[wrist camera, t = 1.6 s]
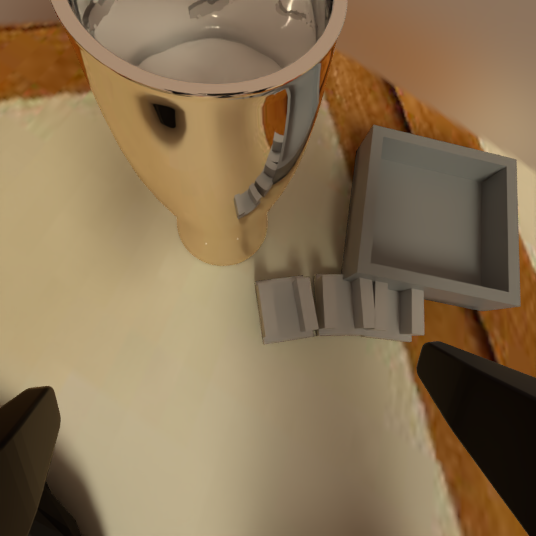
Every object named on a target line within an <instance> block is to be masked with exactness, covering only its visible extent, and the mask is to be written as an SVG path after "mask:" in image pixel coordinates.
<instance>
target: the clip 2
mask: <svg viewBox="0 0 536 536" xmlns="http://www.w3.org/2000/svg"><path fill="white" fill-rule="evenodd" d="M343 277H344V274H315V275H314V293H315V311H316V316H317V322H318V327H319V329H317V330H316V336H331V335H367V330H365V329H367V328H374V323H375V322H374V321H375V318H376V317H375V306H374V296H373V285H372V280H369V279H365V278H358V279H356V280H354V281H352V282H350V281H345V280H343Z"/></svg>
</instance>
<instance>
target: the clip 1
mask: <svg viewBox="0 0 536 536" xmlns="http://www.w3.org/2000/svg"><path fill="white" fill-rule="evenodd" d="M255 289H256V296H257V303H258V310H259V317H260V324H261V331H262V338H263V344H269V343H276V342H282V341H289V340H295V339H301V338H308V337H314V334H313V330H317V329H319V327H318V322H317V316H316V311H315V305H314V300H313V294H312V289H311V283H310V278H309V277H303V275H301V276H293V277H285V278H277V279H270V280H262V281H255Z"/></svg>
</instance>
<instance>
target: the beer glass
mask: <svg viewBox="0 0 536 536" xmlns="http://www.w3.org/2000/svg"><path fill="white" fill-rule="evenodd" d="M50 2H51V5H52V7H53V9H54V12H55V14H56V15H57V17H58V19H59V21H60V23H61V24H62V26H63V27H64V29H65V31H66V33H67V35H68V37H69V40H70V42H71V44H72V46H73V49H74V51H75V53H76V55H77V58H78V60H79V63H80V65H81V67H82V70H83V72H84V74H85V77H86V79H87V81H88V84H89V86H90V88H91V90H92V92H93V95H94V97H95V99H96V101H97V103H98V106H99V108H100V110H101V112H102V114H103V116H104V118H105V120H106V122H107V124H108V126H109V128H110V130H111V132H112V134H113V136H114V138H115V140H116V142H117V143H118V145H119V147H120V149H121V151H122V152H123V154H124V155H125V157H126V158H127V160H128V162H129V163H130V165H131V166H132V168H133V169H134V171H135V173H136V174H137V175H138V177H139V178H140V180H141V181H142V182H143V183H144V184H145V185H146V187H147V188H148V189H149V190H150V191H151V192H152V193H153V195H154V196H155V197H156V198H157V199H158V200H159V201H160V202H161V203H162V204H163V205H164V206H165V207H166V208H167V209H168V210H169V211H170V212H171V213H172V214H174V215H175V216H176V217H177V229H178V233H179V236H180V239H181V241H182V243H183V245H184V246H185V248H186V249H187V250H188V251H189V252H190V253H191V254H192V255H193V256H194V257H196V258H197V259H199V260H201V261H203V262H205V263H208V264H212V265H217V266H229V265H234V264H238V263H240V262H243V261H245V260H247V259H248V258H250V257H251V256H252V255H253V254H254V253H255V252H256V251H257V250H258V249H259V248H260V247H261V245H262V243H263V241H264V239H265V236H266V233H267V226H268V220H267V212H268V211H269V210H270V208H271V207H272V206H273V205H274V203H275V202H276V201H277V200H278V198H279V197H280V196H281V194H282V193H283V191H284V190H285V188H286V187H287V185H288V183H289V182H290V180H291V179H292V177H293V175H294V174H295V172H296V170H297V168H298V166H299V163H300V161H301V159H302V156H303V154H304V152H305V150H306V147H307V145H308V142H309V139H310V136H311V133H312V130H313V127H314V124H315V121H316V118H317V115H318V111H319V108H320V104H321V100H322V97H323V93H324V89H325V86H326V82H327V78H328V74H329V70H330V66H331V62H332V58H333V54H334V50H335V46H336V43H337V39H338V36H339V34H340V32H341V29H342V26H343V24H344V19H345V16H346V10H347V0H50Z"/></svg>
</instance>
